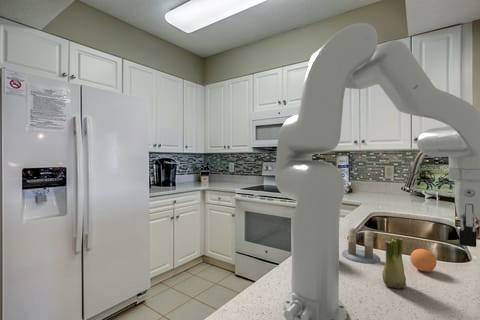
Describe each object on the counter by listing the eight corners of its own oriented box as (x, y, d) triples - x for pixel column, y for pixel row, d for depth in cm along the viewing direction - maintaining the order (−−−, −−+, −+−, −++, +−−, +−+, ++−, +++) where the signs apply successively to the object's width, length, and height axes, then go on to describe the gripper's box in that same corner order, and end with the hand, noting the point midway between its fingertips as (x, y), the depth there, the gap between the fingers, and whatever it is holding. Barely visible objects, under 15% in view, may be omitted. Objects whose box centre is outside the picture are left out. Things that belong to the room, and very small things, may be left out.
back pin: (355, 256, 81) (355, 230, 81) (347, 254, 82) (347, 228, 82) (356, 253, 83) (357, 228, 83) (349, 252, 84) (349, 227, 84)
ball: (436, 277, 67) (436, 255, 66) (409, 271, 70) (409, 250, 70) (436, 269, 71) (436, 248, 71) (411, 264, 75) (411, 244, 75)
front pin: (372, 260, 78) (372, 233, 78) (363, 258, 79) (363, 231, 79) (373, 257, 80) (373, 231, 80) (365, 255, 81) (365, 229, 81)
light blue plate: (375, 266, 73) (375, 265, 73) (337, 257, 80) (337, 256, 80) (382, 254, 82) (382, 254, 82) (347, 247, 89) (347, 246, 89)
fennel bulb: (387, 290, 60) (387, 241, 60) (376, 280, 65) (377, 235, 65) (411, 291, 60) (412, 241, 60) (399, 281, 65) (399, 235, 65)
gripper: (492, 178, 57) (492, 258, 57) (483, 173, 68) (483, 240, 69) (449, 177, 61) (449, 251, 62) (447, 173, 73) (448, 235, 73)
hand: (467, 245), depth 65 cm, fingers closed
